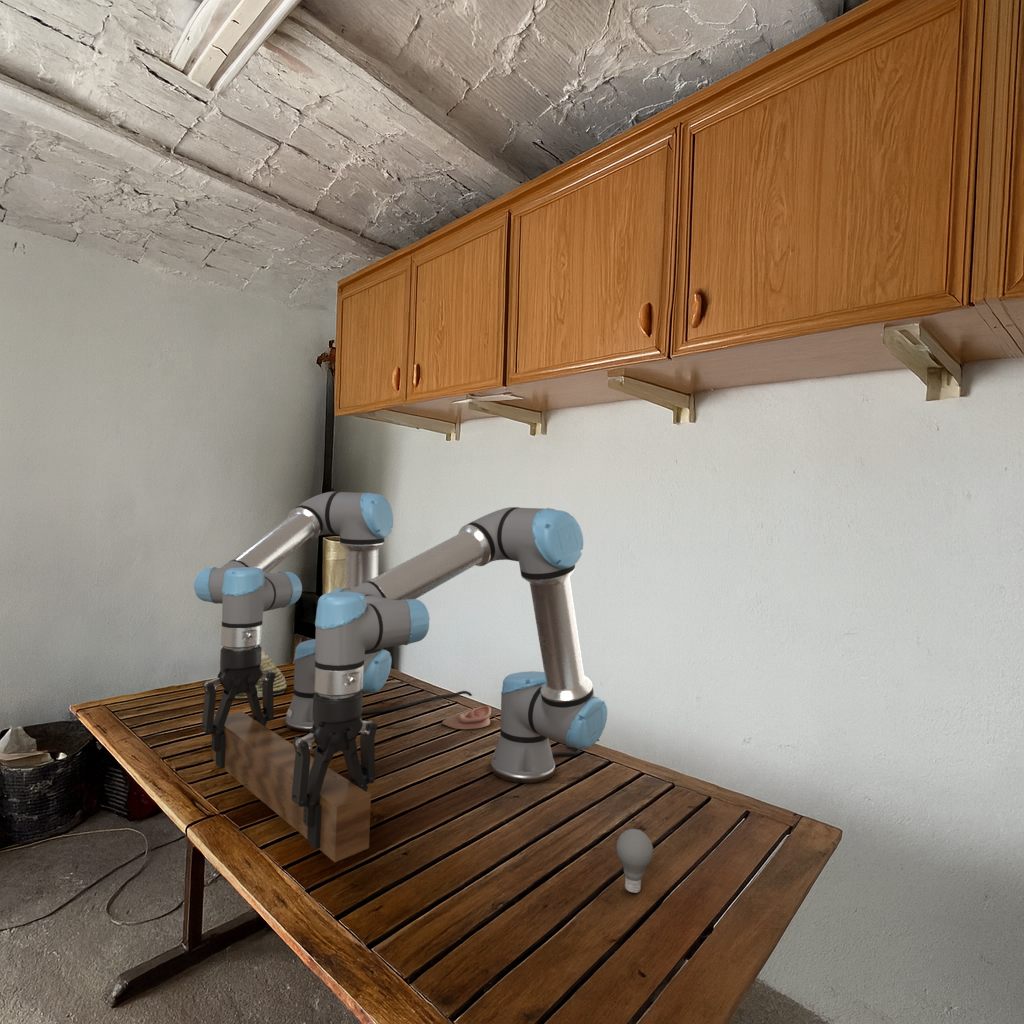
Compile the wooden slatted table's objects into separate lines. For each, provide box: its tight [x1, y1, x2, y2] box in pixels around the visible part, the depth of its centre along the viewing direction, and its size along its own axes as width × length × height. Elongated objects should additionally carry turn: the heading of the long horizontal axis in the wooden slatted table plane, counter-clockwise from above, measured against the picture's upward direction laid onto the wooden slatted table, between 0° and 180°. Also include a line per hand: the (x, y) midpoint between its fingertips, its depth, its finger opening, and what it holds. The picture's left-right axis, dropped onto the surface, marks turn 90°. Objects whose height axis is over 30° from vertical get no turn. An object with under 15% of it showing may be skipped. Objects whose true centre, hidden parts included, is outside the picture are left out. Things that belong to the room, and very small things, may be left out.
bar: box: [210, 711, 372, 863], centre depth 113 cm, size 49×6×8 cm, turn 45°
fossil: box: [235, 648, 288, 699], centre depth 198 cm, size 9×18×15 cm, turn 132°
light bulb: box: [615, 828, 654, 894], centre depth 106 cm, size 6×6×10 cm
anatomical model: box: [441, 705, 492, 730], centre depth 181 cm, size 13×4×12 cm
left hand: (237, 761), depth 126 cm, fingers closed on bar, 6 cm apart
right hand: (333, 837), depth 100 cm, fingers closed on bar, 6 cm apart
